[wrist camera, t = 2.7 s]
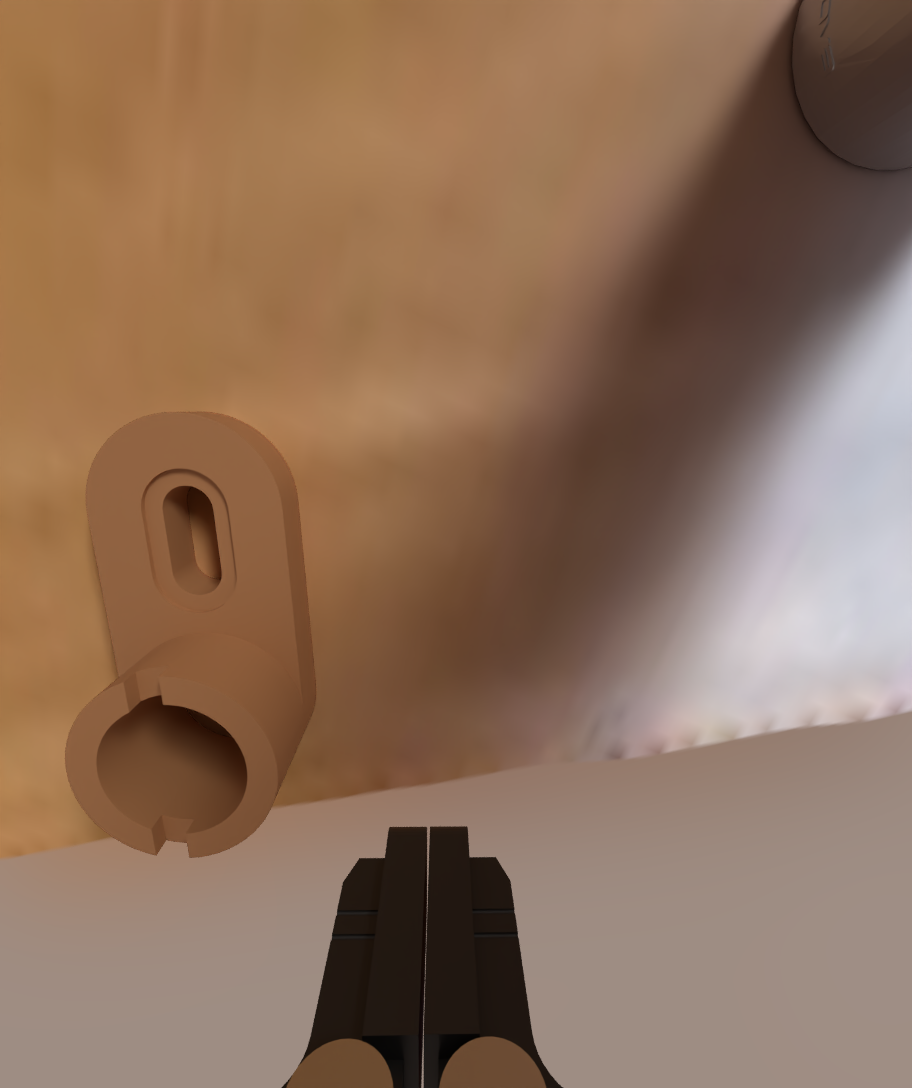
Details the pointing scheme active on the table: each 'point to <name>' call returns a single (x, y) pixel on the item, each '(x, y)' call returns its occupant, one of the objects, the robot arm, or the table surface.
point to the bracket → (194, 636)
